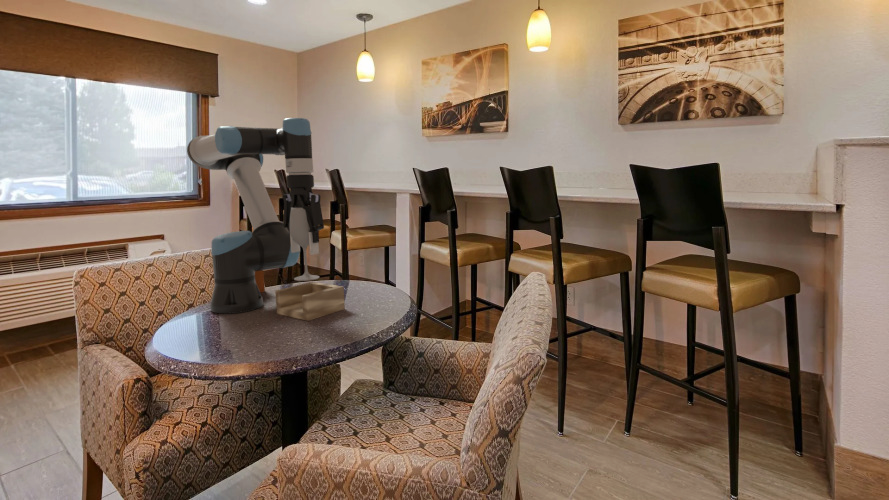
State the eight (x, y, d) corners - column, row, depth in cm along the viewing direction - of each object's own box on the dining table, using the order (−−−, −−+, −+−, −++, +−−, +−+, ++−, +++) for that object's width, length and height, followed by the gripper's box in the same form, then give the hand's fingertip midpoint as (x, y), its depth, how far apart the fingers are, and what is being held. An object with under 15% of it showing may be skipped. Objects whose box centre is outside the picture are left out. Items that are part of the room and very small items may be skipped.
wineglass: (288, 280, 145) (283, 208, 142) (301, 275, 152) (296, 206, 149) (312, 281, 143) (307, 207, 140) (324, 275, 150) (319, 206, 147)
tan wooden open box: (276, 313, 148) (275, 290, 147) (313, 303, 160) (312, 281, 159) (308, 320, 140) (306, 296, 139) (344, 309, 152) (343, 286, 151)
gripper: (266, 174, 146) (272, 252, 149) (313, 173, 134) (318, 257, 138) (287, 174, 152) (292, 248, 155) (334, 173, 140) (338, 253, 144)
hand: (304, 252), depth 147 cm, fingers closed on wineglass, 8 cm apart
